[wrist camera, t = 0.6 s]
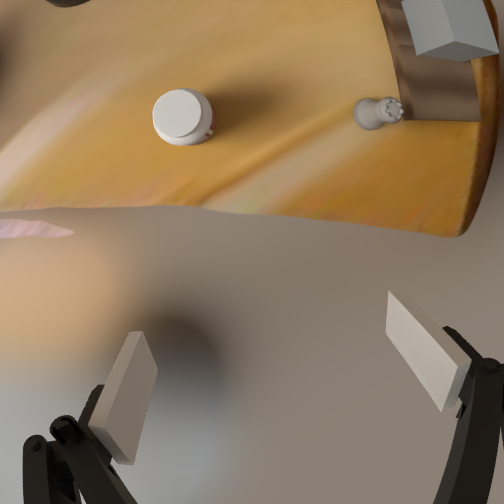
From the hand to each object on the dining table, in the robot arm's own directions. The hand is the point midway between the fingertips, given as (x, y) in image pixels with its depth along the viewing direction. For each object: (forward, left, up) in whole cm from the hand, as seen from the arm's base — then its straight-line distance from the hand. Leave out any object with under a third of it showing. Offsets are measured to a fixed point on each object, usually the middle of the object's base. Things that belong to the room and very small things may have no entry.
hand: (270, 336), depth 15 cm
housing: (-25, +31, -24) cm, 46 cm away
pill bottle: (-14, -5, -27) cm, 30 cm away
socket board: (-21, +31, -26) cm, 46 cm away
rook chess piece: (-12, +18, -27) cm, 34 cm away
